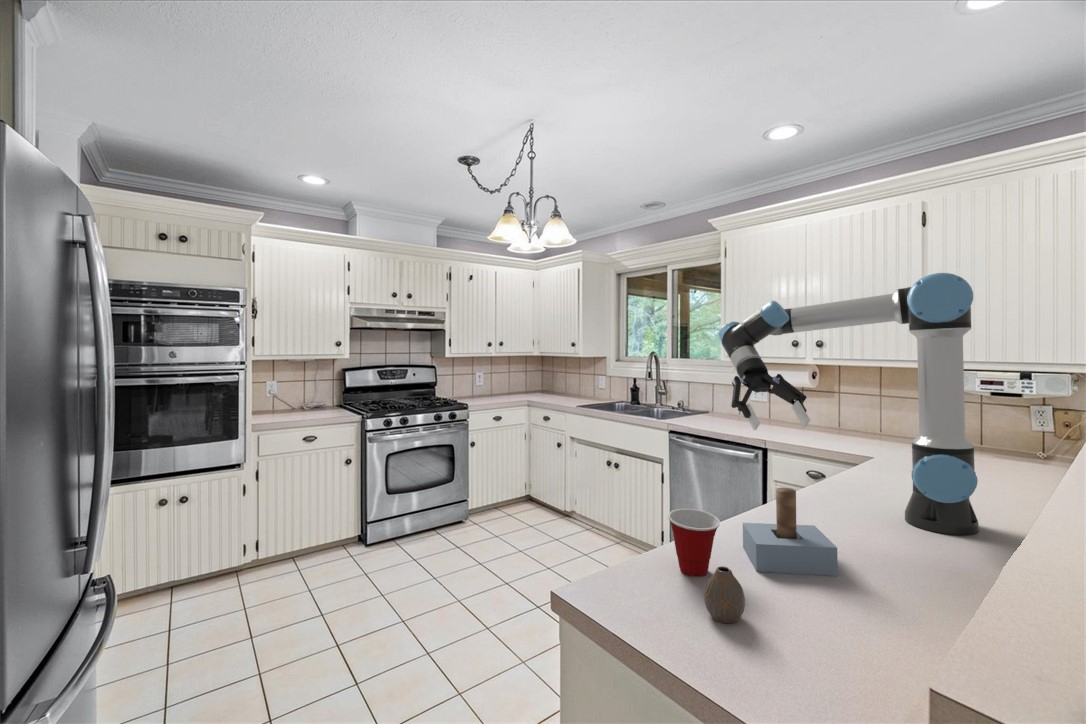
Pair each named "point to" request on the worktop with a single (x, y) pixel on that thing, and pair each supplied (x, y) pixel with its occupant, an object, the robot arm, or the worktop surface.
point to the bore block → (790, 550)
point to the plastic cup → (693, 539)
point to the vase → (724, 596)
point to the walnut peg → (786, 513)
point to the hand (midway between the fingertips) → (782, 425)
